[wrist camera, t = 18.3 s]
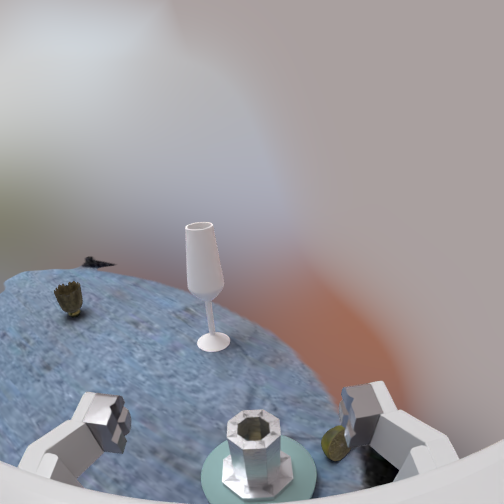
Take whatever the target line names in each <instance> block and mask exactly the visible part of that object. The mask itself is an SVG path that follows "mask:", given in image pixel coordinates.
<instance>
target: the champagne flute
mask: <svg viewBox="0 0 504 504" xmlns="http://www.w3.org/2000/svg"><path fill="white" fill-rule="evenodd" d="M185 228H186V229H185V230H186V260H187V283H188V289H189V291H190V292H191V293H192V294H193V295H194V296H195V297H197V298H199V299H201V300H202V301H205V305H206V312H207V319H208V326H209V333H208V334H205V335H203V336H202V337H200V338H199V340H198V342H197V344H198V347H199V348H200V349H202V350H204V351H208V352H215V351H220V350H223V349H225V348H226V347H227V346H228V345H229V344H230V338H229V337H228V336H227V335H226V334H224V333H219V332H215V326H214V319H213V311H212V303H211V300H213V299H214V298H215V297H216V296H217V295H218V294H219V293H220V292H221V290H222V288H223V286H224V279H223V274H222V269H221V264H220V259H219V254H218V249H217V243H216V239H215V234H214V228H213V224H212V223H209V222H198V223H192V224H189V225H187V226H186V227H185Z"/></svg>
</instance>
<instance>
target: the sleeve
mask: <svg viewBox="0 0 504 504" xmlns="http://www.w3.org/2000/svg"><path fill="white" fill-rule="evenodd" d="M227 440H228V445H229V450H230V455H229V456H228V457H226V458H225V459H224V460H223V475H222V483H223V486H224V487H225V488H227V489H228V490H229V491H230V492H232V493H233V494H234V495H235V496H237V497H238V498H239V499H241V500H242V501H243V502H258V501H274V500H275V499H276V498H277V497H278V496H279V495H281V494H282V493H283V492H284V491H285V490H286V489H287V488H288V487H289V486H290V485H291V484H292V483H293V471H292V463H291V456H289V455H287V454H286V453H284V452H283V451H281V433H280V424H279V419H278V418H276V417H275V416H273V415H271V414H270V413H268V412H266V411H265V410H244V411H241V412H240V413H239V414H237V415H236V416H235V417H233V418H232V419H231V420H229V421H228V425H227Z"/></svg>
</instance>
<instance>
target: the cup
mask: <svg viewBox="0 0 504 504" xmlns="http://www.w3.org/2000/svg"><path fill="white" fill-rule="evenodd" d="M54 294H55V296H56V298H57V301H58V303H59V305H60V307H61V308H62V310H63V311H65V312H67V313H68V315H69V316H70V317H77V316H79V315H80V313H81V310H80V308H81V306H82V303H83V300H82V293H81V287H80V283H78V282H77V283H76V282H75V281H73V282H72V283H71V282H69V283H68V286H67V285H66V286H64V284H62V285H59V286H58V289H57V288H56V291H55V290H54Z"/></svg>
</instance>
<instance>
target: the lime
mask: <svg viewBox="0 0 504 504" xmlns="http://www.w3.org/2000/svg"><path fill="white" fill-rule="evenodd" d="M344 433H345V428H344V427H343V426H341V425H339V426H336V427H334V428H332V429H330V430H329V431H327V432H326V433H325V435H324V436H323V438H322V440H321V446H322V450H323V452H324V453H325V455H326V456H327V457H328V458H329V459H331V460H333V461H339V460H341V459H342V458H343V457H345V456H346V455H347V453H348V452H349V451H350V449H351V448H348V446H347V442H346V439H345V436H344Z"/></svg>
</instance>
